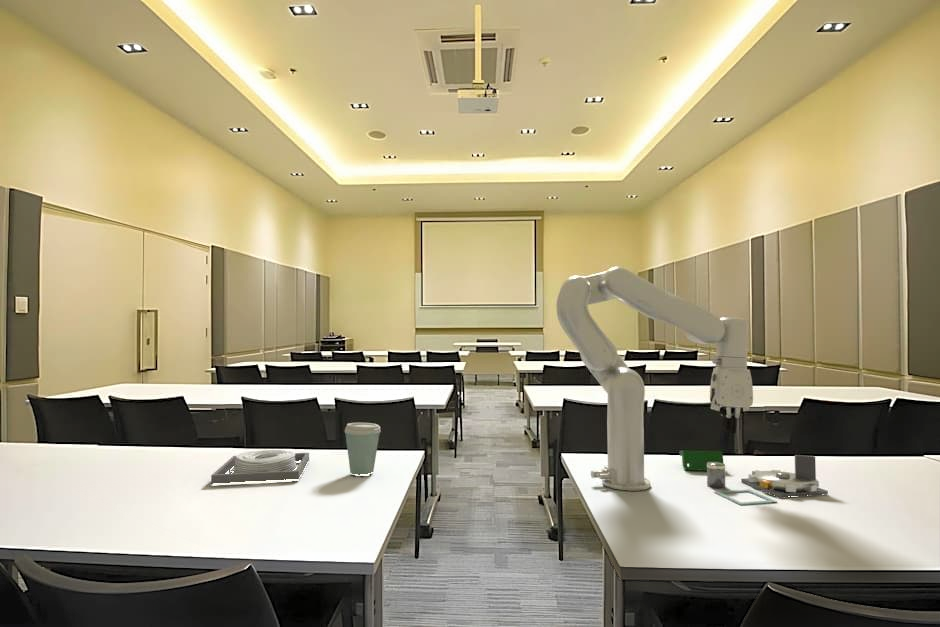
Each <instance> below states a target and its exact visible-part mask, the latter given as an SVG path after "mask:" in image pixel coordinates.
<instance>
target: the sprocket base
mask: <svg viewBox="0 0 940 627" xmlns="http://www.w3.org/2000/svg"><path fill="white" fill-rule="evenodd" d="M741 483H742V484H744V485H746V486H749V487H751V486H752V488H754V489H756V488H757V489H756V490H758V489H759V491H761V490H762V491H761V492H763V491H764V492H763V493H765V492H767V493H766V494H768V493H770V494H772V495H771V496H773V495H775V496H777V497H788V496H790V498H792V497H791V496H805V497H810V496H809V495H820V496H823V495H822V494H828V495H829V491H828V490H826V489H823V488H821V487H816V488H817V491H813V492H810V491H806V490H805V491H796V492H786V491H785V490H780V489H774V488H764V487H761V486H760V484H758V483H757V482H750V481H749V480H748V477H747V478H741ZM770 494H769V495H770ZM807 495H808V496H807ZM775 496H774V497H775ZM777 497H776V498H777Z"/></svg>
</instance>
